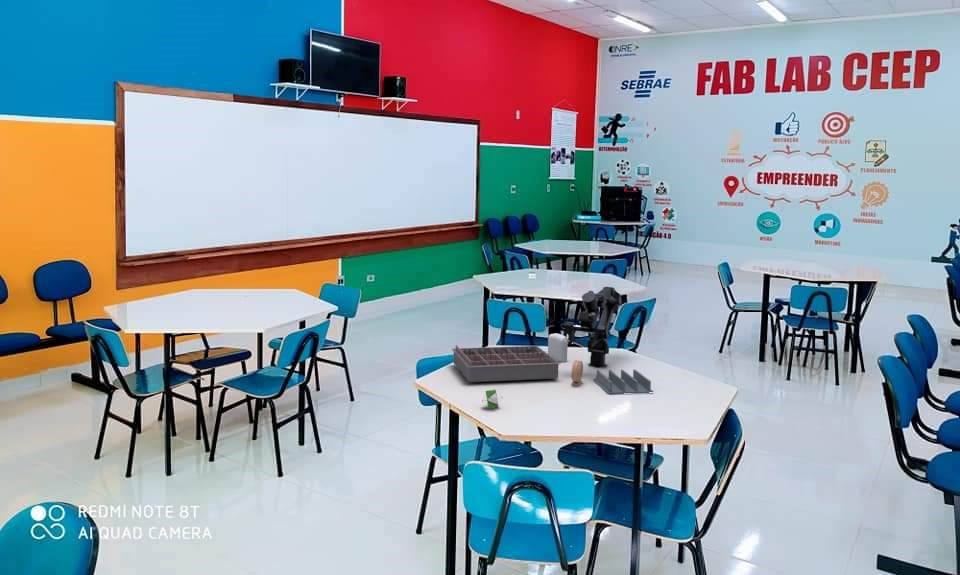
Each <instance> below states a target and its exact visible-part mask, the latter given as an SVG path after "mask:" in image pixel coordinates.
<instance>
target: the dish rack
mask: <svg viewBox="0 0 960 575" xmlns="http://www.w3.org/2000/svg"><path fill="white" fill-rule="evenodd" d="M632 372H633V373H632V375H631V374H630V373H628V371H627V372H626V371H625V370H624V369H621V370H620V376H619V375H617V373H615V372H614V371H613V370H611V369H608V377H607V376H606V375H605V374H603V373H602V372H601V371H600V370H599V369H596V372H595V375H596V376H595V378H592V381H593V382H594V383H595V384H596V385H597V386H598V387H599V386H600V387H601V388H602V389H601V388H600V387H599V388H600V389H601V390H602V391H603V392H604V393H606V394H607V395H608V394H609V395H625V394H624V393H649V392H654V390H652V389H651V388H652V381H651V380H650V379H649V378H648V377H646V376H645V375H643V374H642V373H641V372H639V371H638V370H637V369H633V371H632Z"/></svg>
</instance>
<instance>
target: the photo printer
mask: <svg viewBox="0 0 960 575" xmlns="http://www.w3.org/2000/svg"><path fill="white" fill-rule="evenodd" d="M568 342H569V341H568V338H567V337H566V335H563V334H560V333H551V334H550V333H549V336H548V338H547V354H549V355H550V356H551V357H553V358H554V359H555V360H557V361H558V362H559V363H565V362H567V361H568Z"/></svg>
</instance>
